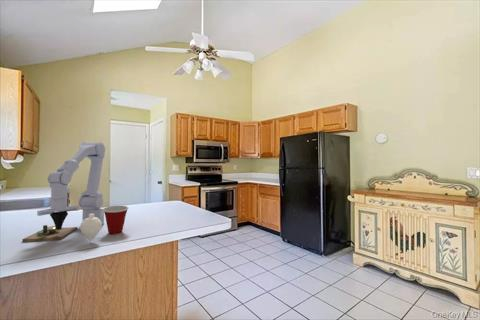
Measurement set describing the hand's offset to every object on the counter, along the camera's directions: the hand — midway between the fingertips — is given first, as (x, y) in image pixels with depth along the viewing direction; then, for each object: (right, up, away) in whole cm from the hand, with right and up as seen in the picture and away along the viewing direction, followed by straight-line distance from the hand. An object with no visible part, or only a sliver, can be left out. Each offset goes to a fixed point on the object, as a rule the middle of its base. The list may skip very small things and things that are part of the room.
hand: (58, 229), depth 102 cm
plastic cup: (+21, -4, +8) cm, 23 cm away
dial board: (-5, -4, +3) cm, 8 cm away
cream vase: (+18, -4, -6) cm, 19 cm away
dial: (-5, -1, +2) cm, 5 cm away
